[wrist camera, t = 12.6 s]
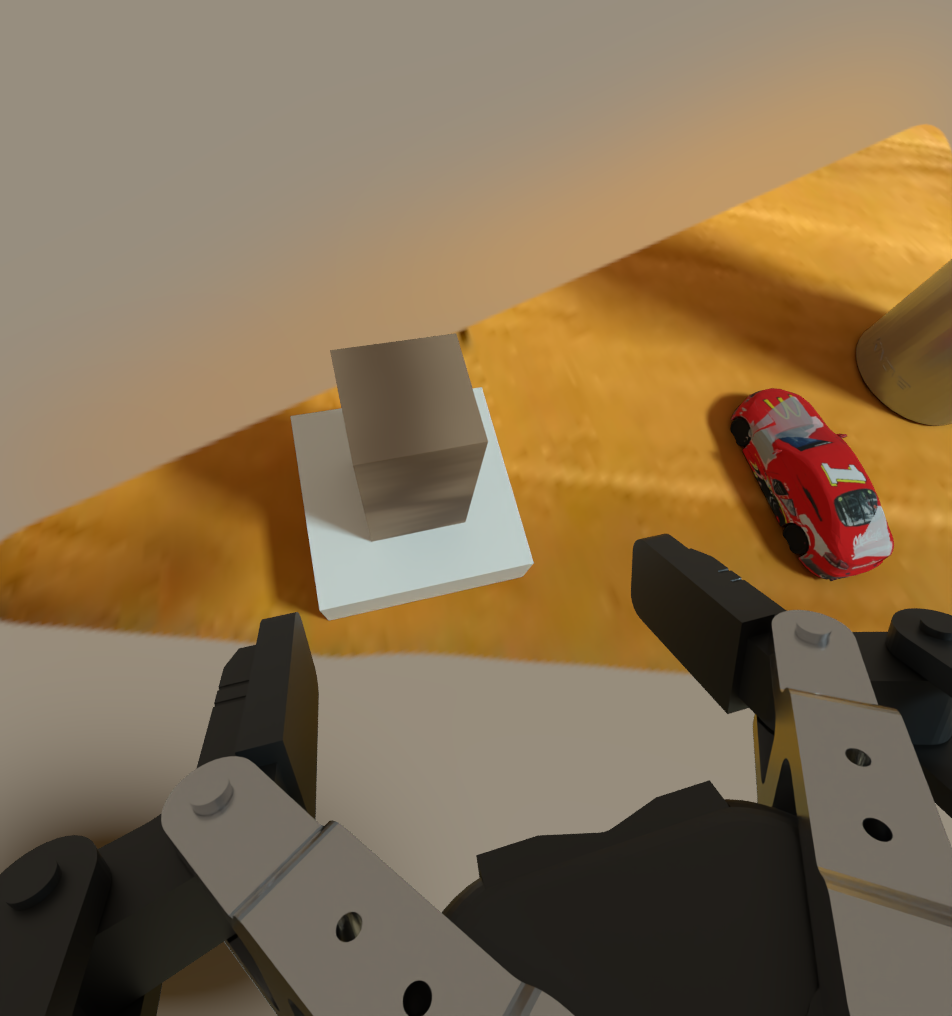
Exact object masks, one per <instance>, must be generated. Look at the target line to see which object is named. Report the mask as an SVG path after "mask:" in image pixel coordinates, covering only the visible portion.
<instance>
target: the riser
mask: <svg viewBox="0 0 952 1016" xmlns="http://www.w3.org/2000/svg"><path fill="white" fill-rule="evenodd" d="M473 392H474V395H475V399H476V402H477V405H478V409H479V412H480V416H481V419H482V422H483V426H484V429H485V432H486V436H487V439H488V444H487V447H486V451H485V455H484V458H483V462H482V465H481V469H480V472H479V476H478V479H477V483H476V486H475V490H474V493H473V497H472V501H471V504H470V508H469V511H468V515H467V518H466V522H464V523H460V524H455V525H450V526H445V527H440V528H436V529H431V530H426V531H421V532H416V533H412V534H407V535H402V536H397V537H392V538H388V539H383V540H378V541H373V542H371V538H370V534H369V530H368V526H367V522H366V518H365V514H364V509H363V505H362V501H361V497H360V493H359V489H358V485H357V481H356V476H355V472H354V468H353V464H352V459H351V454H350V449H349V443H348V438H347V433H346V428H345V423H344V418H343V413H342V408H341V409H335V410H328V411H321V412H315V413H308V414H302V415H295V416H291V423H292V430H293V436H294V443H295V450H296V456H297V463H298V470H299V476H300V483H301V490H302V496H303V503H304V510H305V516H306V523H307V530H308V536H309V543H310V550H311V556H312V563H313V570H314V576H315V583H316V590H317V596H318V603H319V610H320V612H321V613H322V614H323V615H324V616H325V617H326V618H327V619H328V620H334V619H338V618H343V617H347V616H351V615H356V614H360V613H365V612H369V611H373V610H378V609H382V608H387V607H391V606H396V605H400V604H404V603H409V602H413V601H418V600H422V599H426V598H431V597H435V596H440V595H444V594H448V593H453V592H457V591H462V590H466V589H470V588H475V587H479V586H484V585H488V584H493V583H497V582H501V581H506V580H510V579H515V578H519V577H523V575H524V574H525V573H526V572H527V571H528V569H529V568H530V567H531V566H532V565H533V559H532V556H531V553H530V549H529V546H528V542H527V539H526V536H525V532H524V529H523V525H522V522H521V519H520V515H519V512H518V509H517V505H516V502H515V498H514V495H513V492H512V488H511V485H510V481H509V478H508V475H507V471H506V468H505V465H504V461H503V458H502V454H501V451H500V448H499V444H498V441H497V437H496V434H495V431H494V427H493V424H492V421H491V417H490V414H489V410H488V407H487V404H486V400H485V397H484V393H483V390H482V387H480V388H474V389H473Z"/></svg>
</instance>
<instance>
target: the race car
mask: <svg viewBox="0 0 952 1016" xmlns="http://www.w3.org/2000/svg"><path fill="white" fill-rule="evenodd" d="M732 420H734V421H733V423H732V425H731V429H730V430H731V433H733V435H734V437H735V439H736V443H737V444H738V445H740V446H745V445H747V446H746V447H745V448H744V449H743V450H742V451H743V453H744V455H745V457H746V459H747V461H748V463H749V465H750V466H751V468H752V470H753V472H754V474H755V476H756V478H757V480H758V482H759V484H760V486H761V488H762V490H763V492H764V494H765V496H766V498H767V500H768V502H769V504H770V506H771V508H772V510H773V512H774V514H775V516H776V518H777V520H778V522H779V524H780V526H783V525H787V524H791V523H794V524H791V525H788V526H787V527H786V528H785V529H784V532H783V536H784V538H786V540H787V542H788V544H789V546H790V550H791V551H792V552H794V553H796V554H802V553H806V552H807V553H806V554H805V555H803V556H801V557H799V558H798V559H799V560H800V561H801V562H802V563H803V565H804V566H805V567H806V568H807V569H808V570H810V571H811V572H812V573H813V574H815V575H816V576H818V577H820V578H823V579H830V581H833V579H834V580H836V579H837V578H838V579H840V578H846V577H849V576H854V575H857V574H861V573H864V572H867V571H869V570H872V569H874V568H876V567H877V566H879V565H880V564H881V563H882V562H883V560H884V559H886V558H887V557H888V556H890V555H891V554H892V552H893V548H894V541H893V537H892V534H891V531H890V529H889V527H888V524H887V521H886V518H885V515H884V512H883V509H882V507H881V504H880V501H879V498H878V496H877V494H876V492H875V489H874V487H873V485H872V483H871V481H870V479H869V477H868V475H867V474H866V472H865V470H864V468H863V467H862V465H861V463H860V462H859V460H858V458H857V457H856V455H855V454H854V453H853V451H852V450H851V448H850V447H849V446H848V445H847V443H846V442H845V441H844V440H843V439H842V438H844V437H846V436H847V435H846V434H835V433H834V432H833V431H831V430H830V429H829V428H828V426H827V425H826V424H825V422H824V421H823V420H822V418H821V417H820V416H819V414H818V413H817V412H816V411H815V409H814V408H813V407H812V405H811V404H810V403H809V402H807V401H806V400H805V399H804V398H802V397H801V396H799V395H797V394H795V393H791V392H788V391H785V390H782V389H774V388H771V389H766V390H762V391H758V392H755V393H753V394H751V395H749V396H748V397H747V398H746V399H745V400H744V401H743V403H742V404H741V405H740V406H738V408H737V409H736V410H735V412H734V414H733V415H732V418H731V421H732Z"/></svg>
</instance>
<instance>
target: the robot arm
mask: <svg viewBox="0 0 952 1016" xmlns="http://www.w3.org/2000/svg"><path fill="white" fill-rule="evenodd" d="M856 360H857V364H858V368H859V371H860V373H861V375H862V377H863V379H864V381H865V383H866V384H867V386H868V387H869V388H870V390H871V391H872V392H873V393H874V394H875V395H876V397H877V398H878V399H879V400H880V401H881V402H883V403H884V404H885V405H886V406H888V407H889V408H890V409H891V410H893V411H895V412H896V413H898V414H900V415H901V416H903V417H905V418H907V419H910V420H913V421H915V422H918V423H922V424H927V425H947V424H952V259H951V260H950V261H949V262H948V263H946V264H945V265H944V266H943V267H942V268H940V269H939V270H938V271H937V272H936V273H934V274H933V275H932V276H931V277H930V278H929V279H927V280H926V281H925V282H924V283H923V284H921V285H920V286H919V287H918V288H917V289H915V290H914V291H913V292H912V293H910V294H909V295H908V296H907V297H906V298H904V299H903V300H902V301H901V302H900V303H898V304H897V305H896V306H895V307H894V308H893V309H891V310H890V311H889V312H888V313H887V314H885V315H884V316H883V317H882V318H881V319H879V320H878V321H877V322H876V323H875V324H874V325H872V326H871V327H870V328H869V329H868V330H866V331H865V332H864V333H863V335H862V336H861V338H860V339H859V341H858V345H857V348H856ZM631 598H632V603H633V606H634V609H635V611H636V613H637V615H638V616H639V617H640V619H641V620H642V621H643V622H644V623H645V624H646V625H647V626H648V628H649V629H650V630H651V631H652V632H653V633H654V634H655V635H656V636H657V637H658V638H659V640H660V641H661V642H662V643H663V644H664V645H665V646H666V647H667V648H668V649H669V651H670V652H671V653H672V654H673V655H674V656H675V657H676V658H677V659H678V660H679V661H680V663H681V664H682V665H683V666H684V667H685V668H686V669H687V670H688V671H689V672H690V674H691V675H692V676H693V677H694V678H695V679H696V680H697V681H698V682H699V683H700V684H701V686H702V687H703V688H705V690H706V691H707V692H708V693H709V694H710V695H711V696H712V697H713V699H714V700H715V701H716V702H717V703H718V704H719V705H720V706H721V707H722V708H723V710H725V712H726V713H727V714H729V713H732V712H736V711H739V710H743V709H746V708H750V709H751V710H752V711H753V712H754V713H755V715H754V720H753V737H754V738H753V739H754V754H755V768H756V769H755V770H756V784H757V803H754V802H749V801H743V800H730V799H726V800H724V799H723V797H722V796H721V795H720V794H719V792H718V791H717V790H716V788H715V787H714V786H713V784H712V783H711V782H710V781H706V782H703V783H700V784H697V785H694V786H691V787H688V788H684V789H681V790H678V791H675V792H672V793H669V794H666V795H663V796H660V797H656V798H655V799H653V800H652V801H651V802H649V803H648V804H646V805H645V806H643V807H642V808H641V809H639V810H638V811H636V812H635V813H634V814H632V815H631V816H629V817H628V818H626V819H625V820H624V821H622V822H621V823H620V824H618V825H616V826H615V827H614V828H612V829H610V830H609V831H606V832H601V833H584V834H563V835H542V836H535V837H532V838H529V839H526V840H523V841H520V842H517V843H514V844H510V845H507V846H504V847H501V848H498V849H495V850H492V851H489V852H486V853H483V854H479V855H477V863H478V870H479V877H480V878H479V879H477V880H476V881H474V882H473V883H472V884H470V885H469V886H467V887H466V888H465V889H464V890H463V891H462V892H461V893H459V894H458V896H456V897H455V898H454V899H453V900H452V901H451V902H450V904H449V905H448V906H447V907H446V908H445V909H444V910H443V912H442V913H441V912H440V911H439V910H438V909H436V908H435V907H434V906H433V905H432V904H431V903H430V902H429V901H427V900H426V899H425V898H424V897H423V896H422V895H421V894H420V893H418V892H417V891H416V890H415V889H414V888H413V887H412V886H411V885H409V884H408V883H407V882H406V881H405V880H404V879H403V878H402V877H400V876H399V875H398V874H397V873H396V872H395V871H394V870H393V869H391V868H390V867H389V866H388V865H387V864H386V863H385V862H383V861H382V860H381V859H380V858H379V857H378V856H377V855H376V854H374V853H373V852H372V851H371V850H370V849H369V848H367V846H365V845H364V844H363V843H362V842H361V841H360V840H359V839H358V838H356V837H355V836H354V835H353V834H352V833H351V832H350V831H348V830H347V829H346V828H345V827H344V826H342V825H341V824H339V823H338V822H335V821H329V822H328V823H327V824H326V825H325V826H322V825H321V824H319V823H318V822H317V821H316V820H315V817H316V816H315V814H316V778H317V777H316V776H317V738H318V698H319V693H318V682H317V675H316V671H315V666H314V663H313V659H312V655H311V652H310V648H309V645H308V641H307V638H306V634H305V631H304V627H303V624H302V620H301V617H300V615H299V613H298V612H295V613H290V614H285V615H281V616H276V617H272V618H267V619H262V621H261V623H260V628H259V633H258V638H257V643H256V645H253V646H249V647H244V648H240V649H238V650H237V652H236V653H235V654H234V655H233V657H232V658H231V659H230V661H229V662H228V663H227V664H226V666H225V667H224V669H223V673H222V676H221V680H220V684H219V691H217V695H216V699H215V703H214V704H215V707H213V710H212V714H211V717H210V721H209V725H208V728H207V732H206V736H205V739H204V743H203V747H202V751H201V754H200V758H199V761H198V765H197V769H195V770H194V771H192V772H191V773H190V774H189V775H187V776H186V777H185V778H184V779H183V780H182V781H181V782H180V783H179V784H178V785H177V786H176V787H175V788H174V789H173V791H172V792H171V793H170V795H169V797H168V798H167V800H166V802H165V805H164V807H163V810H162V814H160V815H159V816H157V817H156V818H154V819H153V820H151V821H150V822H148V823H146V824H145V825H143V826H141V827H139V828H137V829H135V830H133V831H132V832H130V833H128V834H126V835H124V836H122V837H121V838H118V839H117V840H115V841H113V842H111V843H109V844H107V845H105V846H103V847H101V848H100V849H97V848H96V846H95V845H94V843H93V842H92V841H91V840H90V839H88V838H86V837H83V836H75V835H74V836H65V837H61V838H57V839H55V840H52V841H49V842H46V843H44V844H42V845H40V846H38V847H36V848H35V849H33V850H31V851H30V852H28V853H26V854H25V855H23V856H22V857H21V858H19V859H18V860H17V861H15V862H14V863H13V864H11V865H10V866H9V867H8V868H7V869H5V870H4V871H3V872H2V873H1V874H0V1016H156V1014H157V1009H158V1004H159V999H160V993H161V988H162V982H164V981H165V980H167V979H168V978H170V977H171V976H173V975H174V974H176V973H177V972H179V971H180V970H182V969H183V968H185V967H186V966H188V965H189V964H191V963H192V962H194V961H195V960H197V959H198V958H200V957H201V956H203V955H204V954H206V953H207V952H209V951H210V950H212V949H213V948H215V947H216V946H218V945H219V944H220V943H222V942H223V941H224V942H225V943H226V945H227V946H228V947H229V949H230V950H231V952H232V953H233V954H234V956H235V957H236V958H237V960H238V961H239V963H240V964H241V966H242V967H243V968H244V970H245V971H246V973H247V974H248V975H249V977H250V978H251V980H252V981H253V982H254V983H255V985H256V986H257V987H258V989H259V991H260V992H261V993H262V995H263V996H264V998H265V999H266V1000H267V1002H268V1003H269V1005H270V1006H271V1007H272V1009H273V1010H274V1012H275V1013H276V1014H277V1016H952V848H951V845H950V842H949V839H948V837H947V834H946V832H945V829H944V826H943V824H942V821H941V818H940V816H939V813H938V811H937V808H936V805H935V803H936V804H937V805H938V806H939V807H940V808H941V809H942V810H943V811H945V812H946V813H947V814H948V815H949V816H950V817H951V818H952V616H951V615H949V614H945V613H942V612H938V611H933V610H928V609H917V608H916V609H904V610H901V611H898V612H896V613H895V614H894V615H893V617H892V620H891V624H890V627H889V630H888V632H851V630H850V629H848V628H847V627H846V626H845V625H843V624H842V623H841V622H839V621H837V620H835V619H833V618H831V617H829V616H826V615H823V614H820V613H816V612H811V611H804V610H790V611H786V610H785V609H783V608H782V607H781V606H779V605H778V604H777V603H775V602H774V601H772V600H771V599H770V598H768V597H767V596H766V595H764V594H763V593H761V592H760V591H759V590H757V589H756V588H755V587H753V586H752V585H751V584H749V583H748V582H746V581H745V580H741V577H740V576H738V575H737V574H735V573H734V572H733V571H729V570H728V568H727V567H726V566H724V565H723V564H722V563H720V562H719V561H718V560H716V559H715V558H713V557H712V556H709V555H707V554H704V553H702V552H699V551H696V550H694V549H688V548H687V547H685V546H684V545H683V544H681V543H680V542H679V541H677V540H676V539H675V538H673V537H672V536H671V535H669V534H661V535H657V536H652V537H647V538H643V539H638V540H636V542H635V543H634V546H633V559H632V581H631Z"/></svg>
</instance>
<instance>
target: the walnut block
mask: <svg viewBox="0 0 952 1016" xmlns="http://www.w3.org/2000/svg"><path fill="white" fill-rule="evenodd" d="M330 352H331V357H332V362H333V367H334V372H335V378H336V383H337V388H338V393H339V398H340V403H341V408H342V413H343V418H344V423H345V428H346V433H347V438H348V443H349V449H350V454H351V459H352V464H353V468H354V472H355V476H356V481H357V485H358V489H359V493H360V497H361V501H362V505H363V509H364V514H365V518H366V522H367V526H368V530H369V534H370V538H371V542H373V541H378V540H383V539H388V538H392V537H397V536H402V535H407V534H412V533H416V532H421V531H426V530H431V529H436V528H440V527H445V526H450V525H455V524H460V523H464V522H466V518H467V515H468V511H469V508H470V504H471V501H472V497H473V493H474V490H475V486H476V483H477V479H478V476H479V472H480V469H481V465H482V462H483V458H484V455H485V451H486V447H487V444H488V439H487V436H486V432H485V429H484V426H483V422H482V419H481V416H480V412H479V409H478V405H477V402H476V399H475V395H474V392H473V389H472V385H471V382H470V379H469V375H468V372H467V368H466V365H465V362H464V358H463V355H462V352H461V348H460V345H459V341H458V338H457V335H456V334H448V335H441V336H433V337H426V338H419V339H412V340H404V341H396V342H389V343H382V344H374V345H367V346H360V347H352V348H345V349H337V350H331V351H330Z"/></svg>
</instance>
